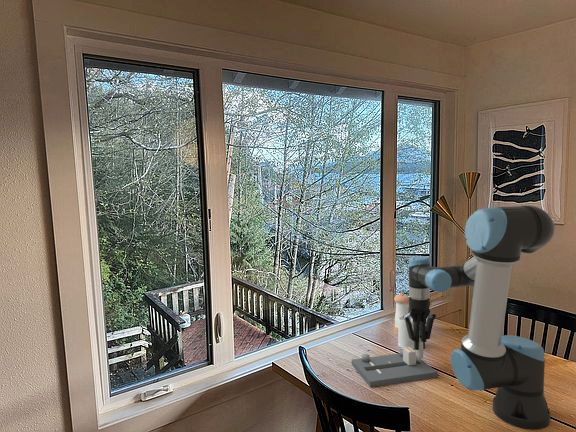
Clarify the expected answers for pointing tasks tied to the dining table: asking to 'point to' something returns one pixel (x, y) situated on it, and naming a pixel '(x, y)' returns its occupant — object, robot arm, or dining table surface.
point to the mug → (404, 334)
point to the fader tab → (409, 356)
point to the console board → (391, 369)
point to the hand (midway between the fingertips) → (419, 357)
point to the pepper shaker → (400, 308)
